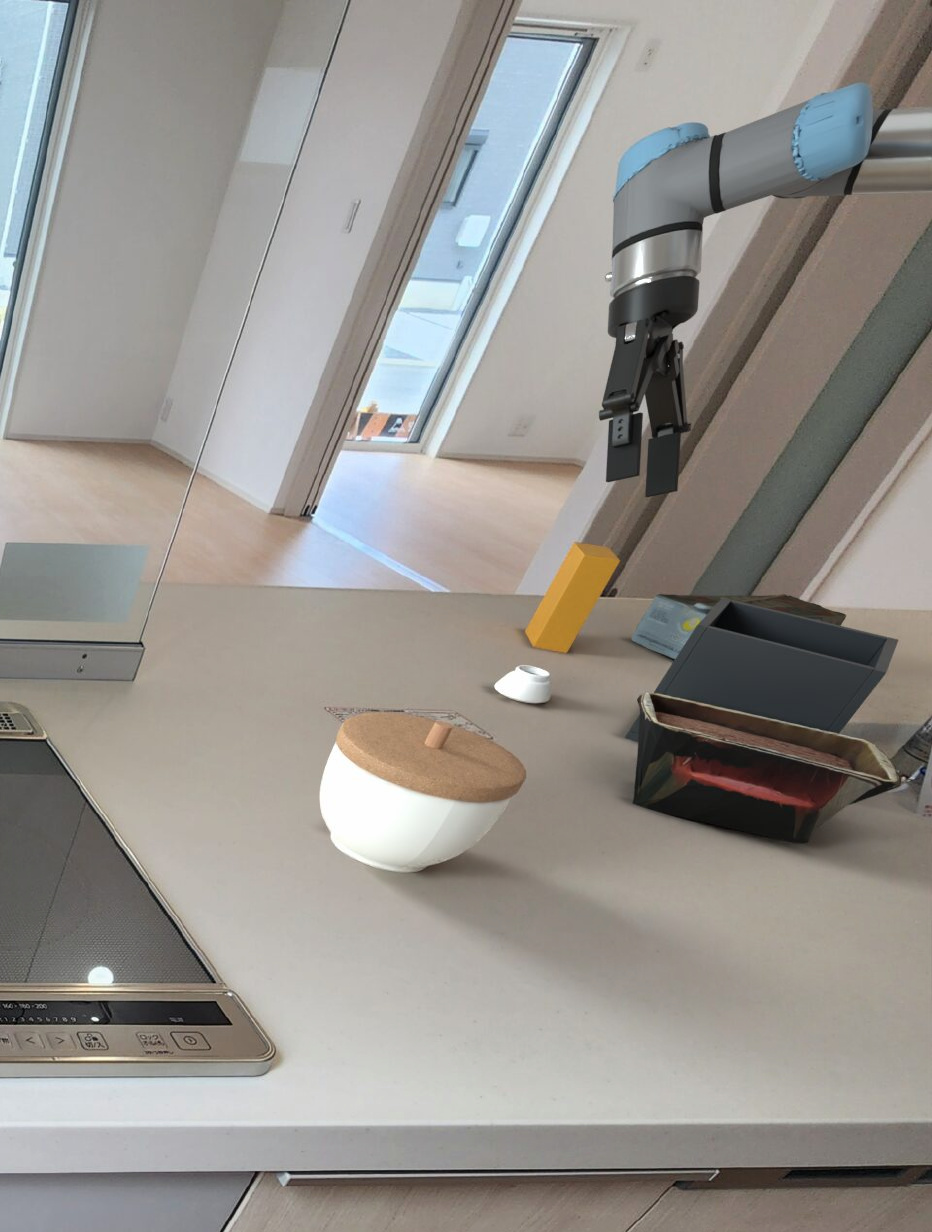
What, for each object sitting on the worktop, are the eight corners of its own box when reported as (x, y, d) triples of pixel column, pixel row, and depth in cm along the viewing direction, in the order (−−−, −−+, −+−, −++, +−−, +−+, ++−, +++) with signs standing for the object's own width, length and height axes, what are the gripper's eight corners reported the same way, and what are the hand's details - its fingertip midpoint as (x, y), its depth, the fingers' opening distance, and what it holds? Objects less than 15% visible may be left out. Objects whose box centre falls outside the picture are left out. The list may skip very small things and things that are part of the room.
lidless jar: (482, 689, 116) (524, 708, 112) (496, 663, 114) (539, 682, 110) (514, 685, 117) (557, 704, 113) (528, 659, 115) (572, 678, 112)
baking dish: (607, 766, 106) (647, 671, 101) (856, 807, 96) (916, 702, 90) (587, 828, 98) (629, 727, 92) (858, 879, 87) (923, 769, 82)
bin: (812, 751, 107) (899, 639, 100) (794, 791, 100) (886, 672, 93) (652, 704, 115) (722, 597, 108) (624, 738, 107) (697, 624, 100)
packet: (557, 637, 131) (608, 547, 125) (566, 653, 127) (620, 560, 120) (524, 631, 132) (574, 541, 126) (533, 647, 128) (584, 554, 121)
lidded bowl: (431, 821, 90) (498, 701, 84) (493, 903, 80) (575, 774, 74) (277, 800, 92) (331, 680, 85) (319, 878, 82) (384, 749, 75)
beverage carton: (624, 639, 132) (656, 586, 128) (757, 642, 134) (792, 590, 131) (678, 664, 126) (713, 609, 122) (817, 667, 128) (856, 613, 124)
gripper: (645, 325, 128) (635, 507, 131) (571, 277, 115) (561, 481, 117) (730, 299, 122) (718, 491, 125) (662, 244, 108) (650, 461, 111)
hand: (642, 487), depth 121 cm, fingers open, 13 cm apart
